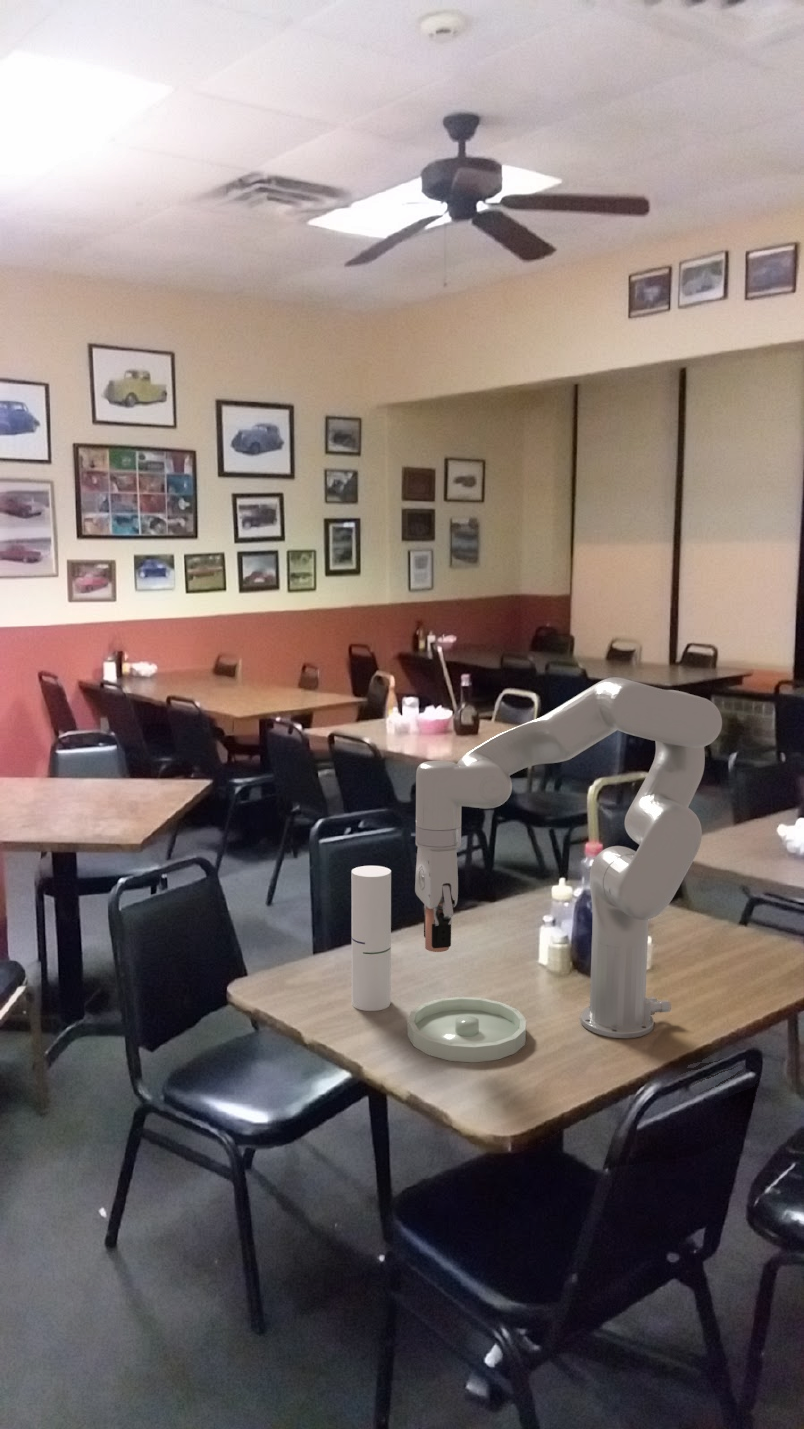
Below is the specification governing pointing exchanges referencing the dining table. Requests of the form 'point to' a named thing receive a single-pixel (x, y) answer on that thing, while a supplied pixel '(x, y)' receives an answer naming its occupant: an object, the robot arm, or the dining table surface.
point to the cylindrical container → (371, 937)
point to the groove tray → (467, 1029)
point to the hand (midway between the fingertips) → (437, 941)
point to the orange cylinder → (428, 930)
